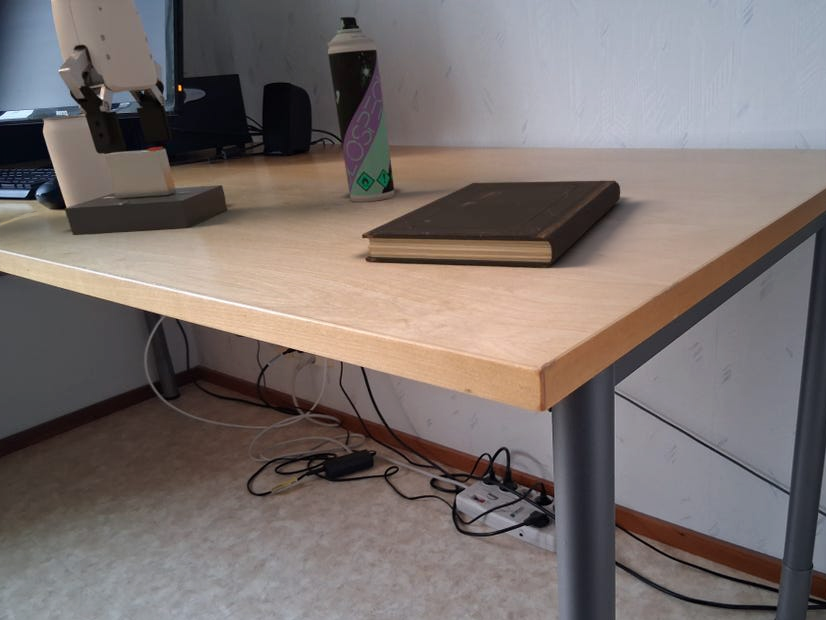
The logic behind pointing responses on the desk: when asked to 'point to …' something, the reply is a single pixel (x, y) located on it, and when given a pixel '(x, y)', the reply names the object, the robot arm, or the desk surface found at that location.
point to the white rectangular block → (140, 173)
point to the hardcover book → (495, 224)
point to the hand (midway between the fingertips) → (137, 146)
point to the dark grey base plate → (147, 211)
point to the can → (76, 160)
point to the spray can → (360, 113)
